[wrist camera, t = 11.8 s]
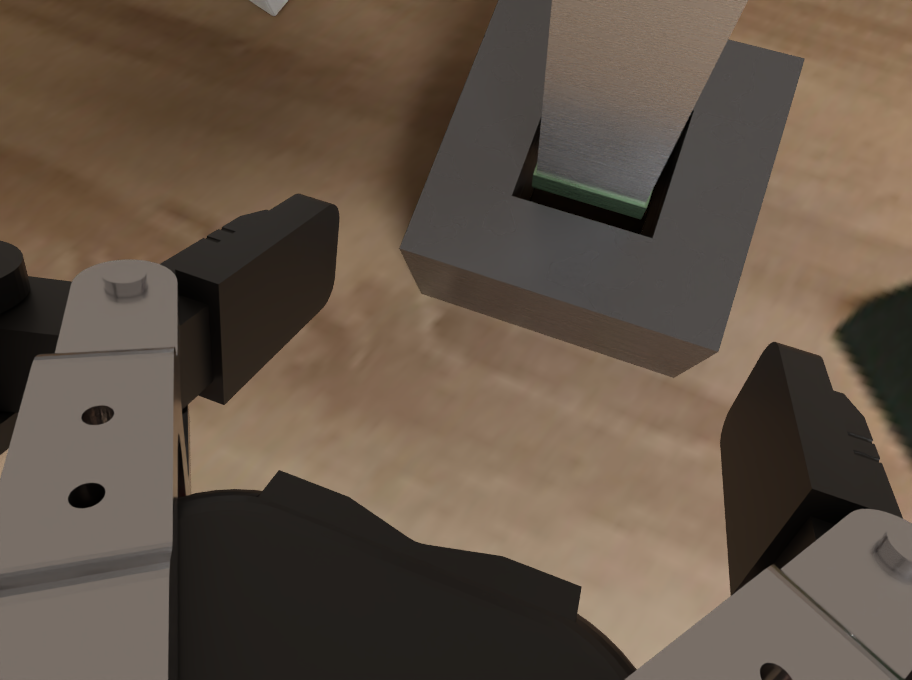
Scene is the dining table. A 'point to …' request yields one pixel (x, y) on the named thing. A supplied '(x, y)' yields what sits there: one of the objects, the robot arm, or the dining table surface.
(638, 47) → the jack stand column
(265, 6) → the skincare box
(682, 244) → the block
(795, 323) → the dining table surface
